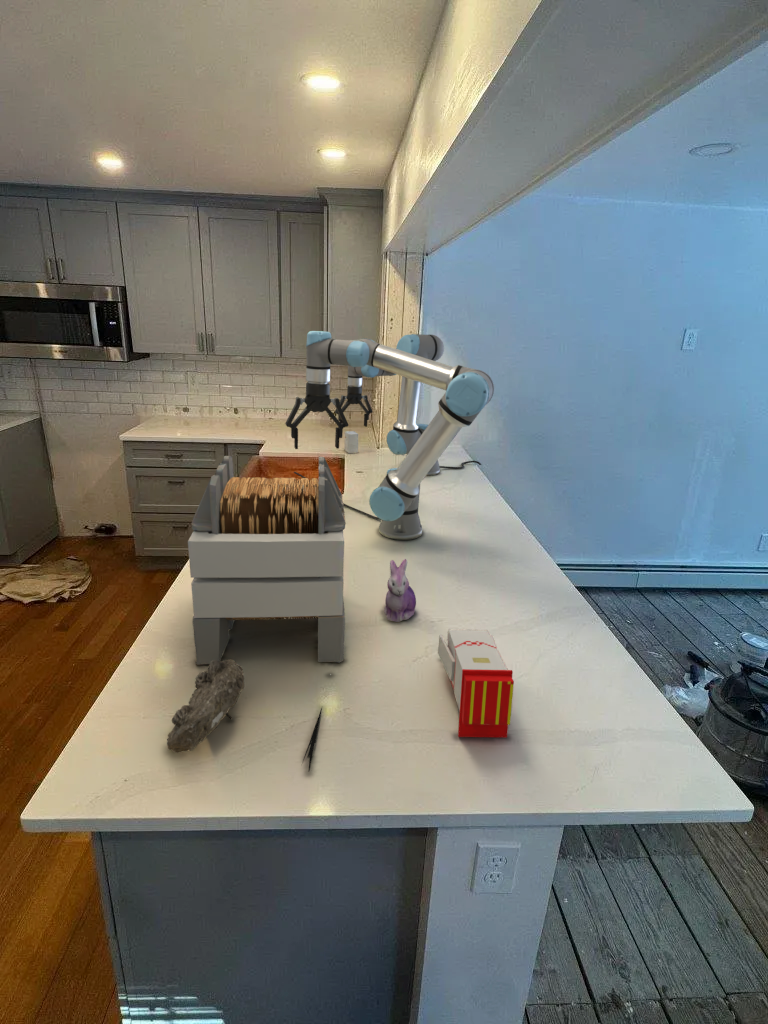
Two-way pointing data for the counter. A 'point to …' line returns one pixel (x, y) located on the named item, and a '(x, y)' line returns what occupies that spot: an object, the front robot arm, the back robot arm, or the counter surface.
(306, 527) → the rotary card file
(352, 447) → the small box
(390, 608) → the figurine
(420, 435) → the back robot arm
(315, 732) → the feather
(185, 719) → the fossil
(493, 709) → the toy
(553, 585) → the counter surface
